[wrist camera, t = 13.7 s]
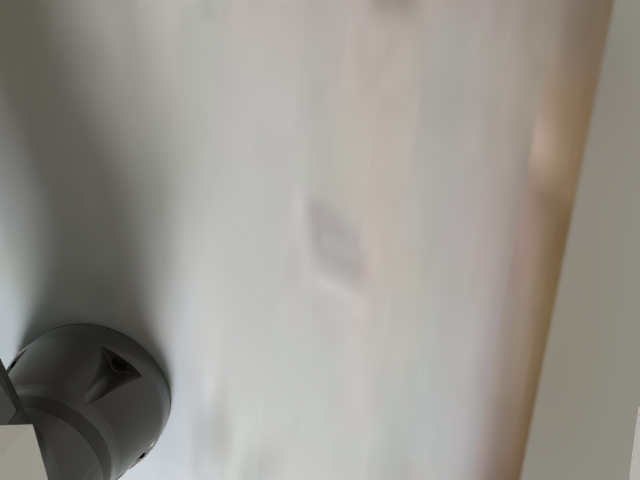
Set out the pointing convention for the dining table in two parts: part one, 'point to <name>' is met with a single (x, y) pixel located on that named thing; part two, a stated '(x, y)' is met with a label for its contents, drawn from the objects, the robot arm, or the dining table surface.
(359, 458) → the dining table surface
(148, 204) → the dining table surface
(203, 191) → the dining table surface
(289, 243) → the dining table surface
